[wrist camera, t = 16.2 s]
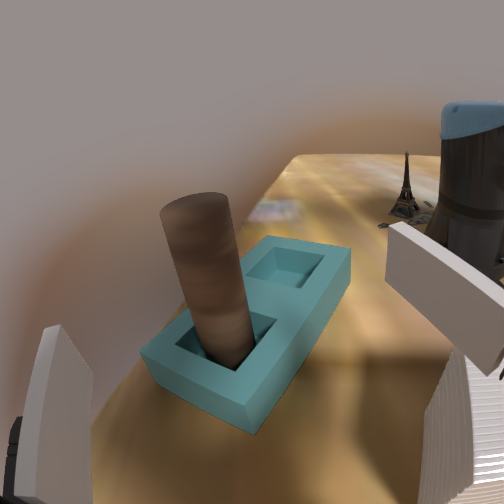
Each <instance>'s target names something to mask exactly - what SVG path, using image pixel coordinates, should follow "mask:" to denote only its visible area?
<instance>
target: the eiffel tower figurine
mask: <svg viewBox="0 0 504 504" xmlns="http://www.w3.org/2000/svg"><path fill="white" fill-rule="evenodd" d="M408 156H409V154H408V153H407V152H406V154H405V157H406V160H405V173H404V182H403V187H402V191H401V194H400V197H399V198H398V199H397V203H396V204H395V206H394V207H393V209H392V210H391V212H390V213H389V215H393V216H397V217H401V218H405V219H409V220H410V221H409V222H408V223H407V224H408V225H414V224H424V223H429V222H430V219H431V217H432V215H433V213H434V212H425V213H422V214H419V213H420V212H421V210H420V209H419V207H418V205H417V204H416V202H415V198H414V197H413V195H412V192H411V186H410V180H409V163H408ZM405 195H406V196H405ZM424 203H425V204H427V205H428V206H429V207H433V206H432V205H431V204H430V203H429V202H427V201H424ZM413 206H414V208H415V209H413ZM433 208H434V207H433ZM418 214H419V215H418ZM378 227H379V228H386V227H389V224H385V223H382V224H380V225H378Z"/></svg>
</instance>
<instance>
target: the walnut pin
mask: <svg viewBox="0 0 504 504" xmlns="http://www.w3.org/2000/svg"><path fill="white" fill-rule="evenodd" d="M160 217H161V221H162V225H163V228H164V231H165V235H166V238H167V242H168V245H169V248H170V252H171V255H172V258H173V262H174V265H175V268H176V271H177V274H178V277H179V281H180V284H181V287H182V290H183V293H184V296H185V299H186V302H187V305H188V308H189V311H190V314H191V317H192V320H193V322H194V325H195V328H196V331H197V334H198V337H199V339H200V342H201V345H202V348H203V350H204V353H205V356H206V359H207V360H209V361H211V362H214V363H216V364H218V365H220V366H223V367H225V368H227V369H230V370H232V371H235V372H236V371H237V369H238V368H239V367H240V366H241V364H242V363H243V362H244V361H245V360H246V358H247V357H248V356H249V355H250V353H251V352H252V351H253V350H254V348H255V347H256V341H255V336H254V331H253V326H252V321H251V316H250V311H249V306H248V301H247V296H246V291H245V286H244V281H243V276H242V271H241V265H240V260H239V255H238V250H237V245H236V240H235V234H234V229H233V224H232V219H231V213H230V208H229V203H228V198H227V196H226V195H224V194H221V193H216V192H206V193H198V194H193V195H189V196H185V197H182V198H180V199H177V200H175V201H173V202H171V203H169V204H167V205H166V206H165V207H164V208H163V209H162V210H161V212H160Z"/></svg>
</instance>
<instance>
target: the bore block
mask: <svg viewBox="0 0 504 504" xmlns="http://www.w3.org/2000/svg"><path fill="white" fill-rule="evenodd" d="M240 265H241V271H242V276H243V281H244V286H245V291H246V296H247V301H248V306H249V311H250V316H251V321H252V326H253V331H254V336H255V341H256V347H255V348H254V350H253V351H252V352H251V353H250V355H249V356H248V357H247V358H246V360H245V361H244V362H243V363H242V364H241V366H240V367H239V368H238V369H237V371H236V372H235V371H232V370H230V369H227V368H225V367H223V366H220V365H218V364H216V363H214V362H211V361H209V360H207V359H206V356H205V353H204V350H203V348H202V345H201V342H200V339H199V337H198V334H197V331H196V328H195V325H194V322H193V320H192V317H191V314H190V311H189V308H188V307H187V308H186V309H185V310H184V311H183V312H182V313H181V314H180V315H179V316H178V317H176V318H175V319H174V320H173V321H172V322H171V323H170V324H169V325H168V326H167V327H165V328H164V329H163V330H162V331H161V332H160V333H159V334H158V335H157V336H156V337H154V338H153V339H152V340H151V341H150V342H149V343H148V344H147V345H146V346H145V347H143V348H142V349H141V350H140V351H139V352H140V354H141V356H142V358H143V360H144V362H145V363H146V365H147V367H148V369H149V371H150V372H151V374H152V376H153V378H154V380H155V381H156V383H157V384H158V385H160V386H162V387H163V388H165V389H167V390H168V391H170V392H172V393H173V394H175V395H177V396H179V397H180V398H182V399H184V400H186V401H187V402H189V403H191V404H193V405H195V406H196V407H198V408H200V409H202V410H204V411H206V412H207V413H209V414H211V415H213V416H215V417H217V418H219V419H221V420H223V421H225V422H227V423H229V424H231V425H233V426H235V427H237V428H239V429H241V430H243V431H246V432H248V433H250V434H252V435H255V433H256V432H257V431H258V429H259V428H260V426H261V425H262V424H263V422H264V421H265V419H266V418H267V416H268V415H269V414H270V412H271V411H272V409H273V408H274V406H275V405H276V403H277V402H278V400H279V399H280V397H281V396H282V395H283V393H284V392H285V390H286V388H287V387H288V385H289V384H290V382H291V381H292V379H293V378H294V376H295V375H296V373H297V372H298V370H299V368H300V367H301V365H302V364H303V362H304V360H305V359H306V357H307V356H308V354H309V352H310V351H311V349H312V348H313V346H314V344H315V343H316V341H317V339H318V338H319V336H320V334H321V333H322V331H323V329H324V327H325V326H326V324H327V322H328V321H329V319H330V317H331V315H332V314H333V312H334V310H335V308H336V307H337V305H338V303H339V301H340V300H341V298H342V296H343V294H344V292H345V290H346V289H347V287H348V285H349V283H350V275H351V248H345V247H339V246H333V245H326V244H320V243H314V242H308V241H301V240H295V239H288V238H282V237H276V236H269V235H267V236H266V237H265V238H264V239H262V240H261V241H260V242H259V243H258V244H257V245H256V246H255V247H254V248H253V249H251V250H250V251H249V252H248V253H247V254H246V255H245V256H244V257H243V258H241V259H240Z"/></svg>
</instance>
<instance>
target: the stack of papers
mask: <svg viewBox="0 0 504 504" xmlns="http://www.w3.org/2000/svg"><path fill="white" fill-rule="evenodd" d="M503 368H504V358H503V360H502V362H501V364H500V365H499V367H498V368H497V369H496V370H494V371H493V372H492V373H491V374H490V375H489V376H488V377H486V376H485V375H484V374H483V373H482V372H481V371H480V370H479V369H478V368H477V367H476V366H475V365H474V364H473V363H472V362H471V361H470V360H469V359H468V358H467V357H466V356H465V355H464V354H463V353H462V352H461V351H460V350H459V349H458V348H457V347H456V346H455V345H454V346H453V351H452V352H451V354H450V357H449V360H448V362H447V364H446V368H445V369H444V371H443V374H442V376H441V378H440V381H439V384H438V385H437V387H436V391H435V392H434V394H433V397H432V398H431V400H430V404H428V406H427V409H426V410H425V412H424V433H423V452H422V465H421V476H420V485H419V494H418V501H417V504H504V377H503V379H502V380H499V376H500V374H501V372H502V370H503Z"/></svg>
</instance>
